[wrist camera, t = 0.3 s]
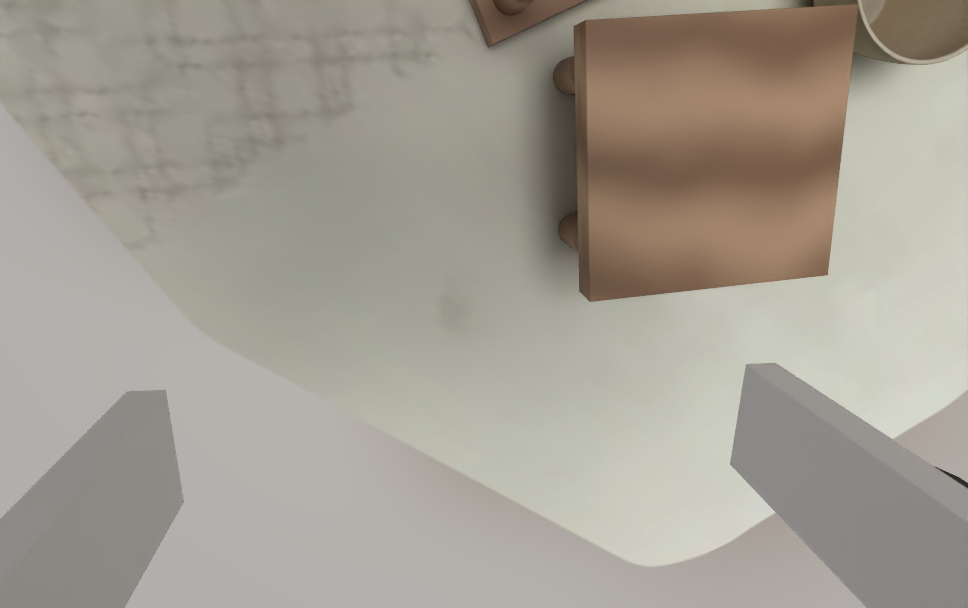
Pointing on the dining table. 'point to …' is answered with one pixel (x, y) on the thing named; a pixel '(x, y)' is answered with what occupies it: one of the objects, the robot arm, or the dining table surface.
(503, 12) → the upturned stool
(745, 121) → the stool
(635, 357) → the dining table surface
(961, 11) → the flower pot
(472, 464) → the dining table surface
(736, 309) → the dining table surface
